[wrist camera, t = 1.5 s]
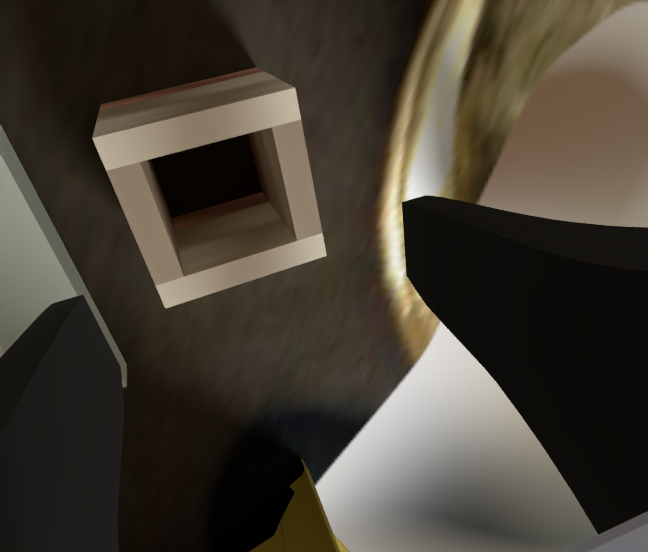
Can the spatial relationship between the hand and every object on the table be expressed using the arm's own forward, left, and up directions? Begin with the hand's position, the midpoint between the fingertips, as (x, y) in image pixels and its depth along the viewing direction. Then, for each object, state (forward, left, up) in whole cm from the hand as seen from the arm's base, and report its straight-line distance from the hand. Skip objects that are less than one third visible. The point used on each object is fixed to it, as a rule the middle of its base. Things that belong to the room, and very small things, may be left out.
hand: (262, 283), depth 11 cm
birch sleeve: (0, 0, -10) cm, 10 cm away
